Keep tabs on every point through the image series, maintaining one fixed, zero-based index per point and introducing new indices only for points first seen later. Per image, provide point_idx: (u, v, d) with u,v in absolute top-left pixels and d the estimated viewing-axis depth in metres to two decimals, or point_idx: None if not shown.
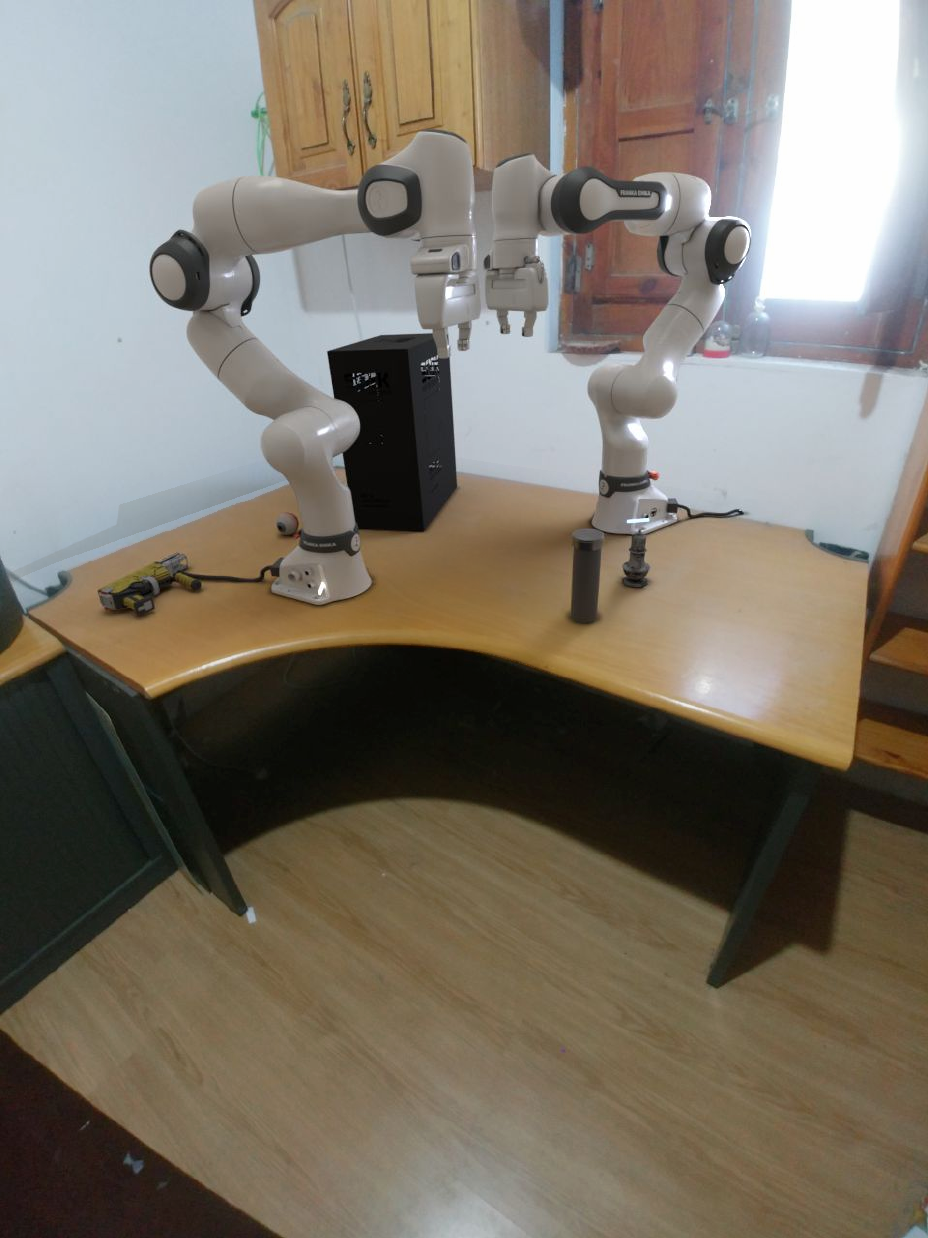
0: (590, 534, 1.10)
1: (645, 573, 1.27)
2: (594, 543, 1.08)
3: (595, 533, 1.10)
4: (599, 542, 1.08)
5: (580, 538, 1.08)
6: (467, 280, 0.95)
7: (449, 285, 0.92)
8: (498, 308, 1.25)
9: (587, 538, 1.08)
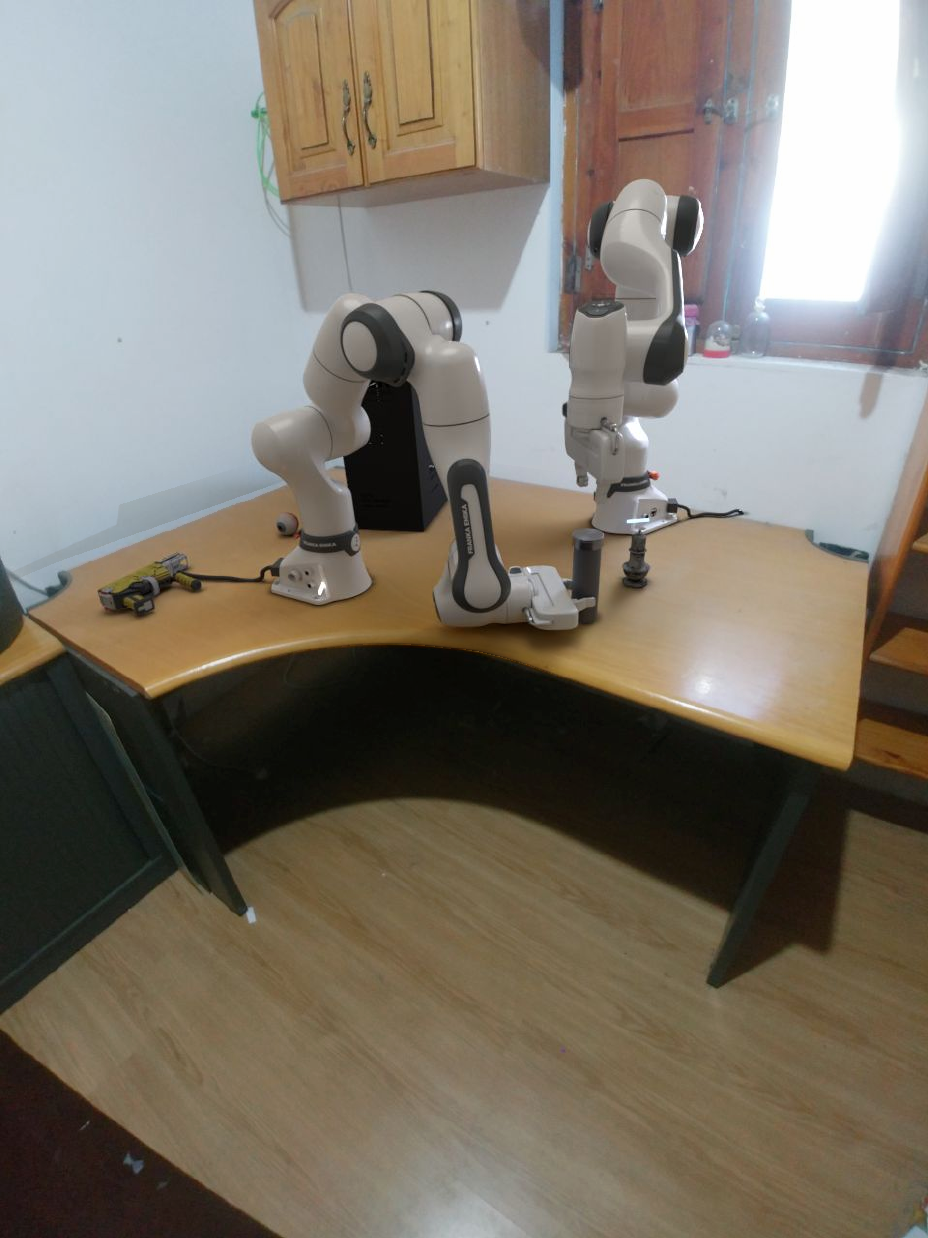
0: (590, 534, 1.10)
1: (645, 573, 1.27)
2: (594, 543, 1.08)
3: (595, 533, 1.10)
4: (599, 542, 1.08)
5: (580, 538, 1.08)
6: None
7: None
8: (574, 460, 1.07)
9: (587, 538, 1.08)
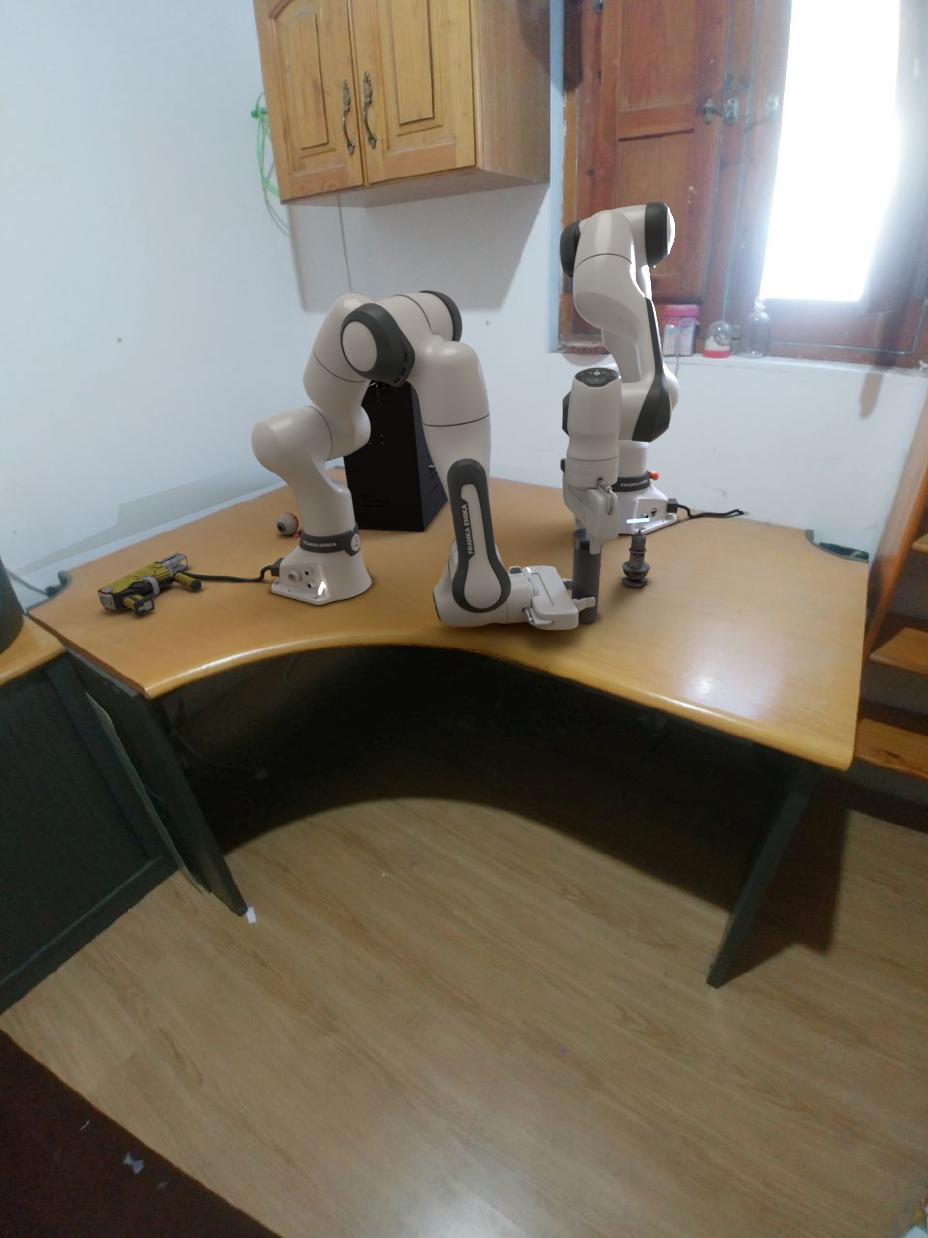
0: None
1: (645, 573, 1.27)
2: None
3: None
4: None
5: (580, 538, 1.08)
6: None
7: None
8: (572, 512, 1.12)
9: (587, 538, 1.08)
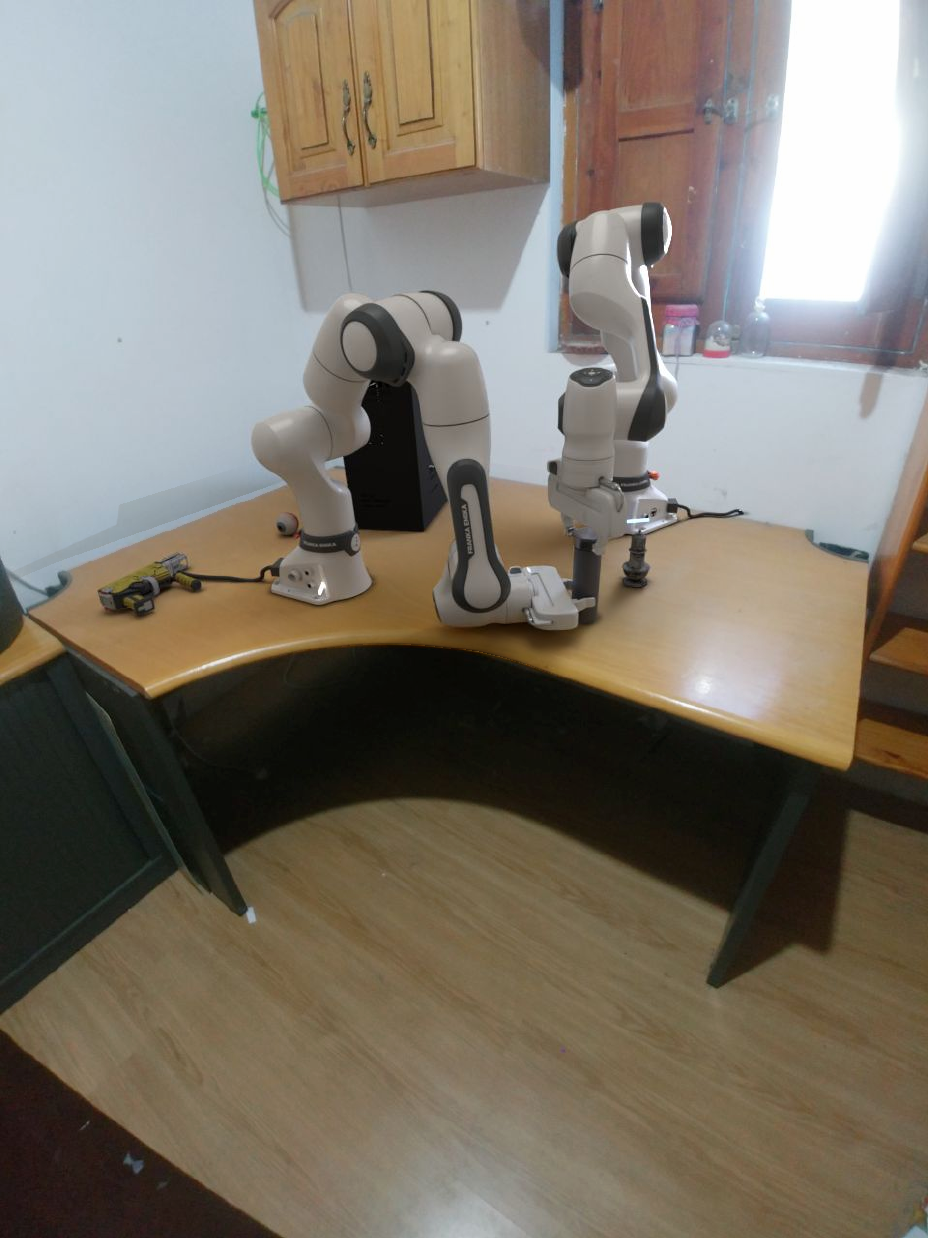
0: (590, 532, 1.10)
1: (645, 573, 1.27)
2: None
3: (589, 530, 1.11)
4: None
5: None
6: None
7: None
8: (563, 513, 1.12)
9: None
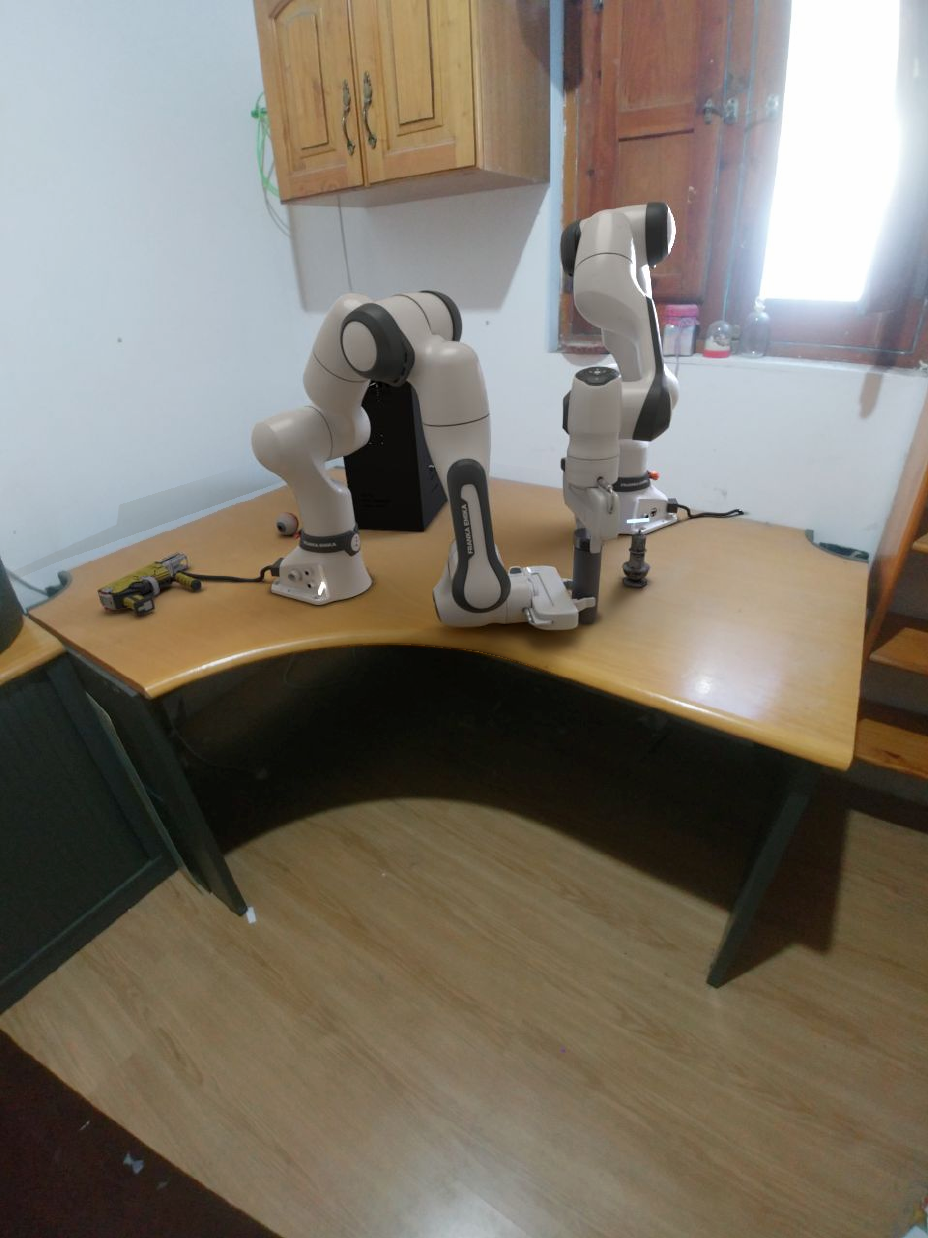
0: (590, 532, 1.10)
1: (645, 573, 1.27)
2: None
3: None
4: None
5: None
6: None
7: None
8: (572, 511, 1.12)
9: None
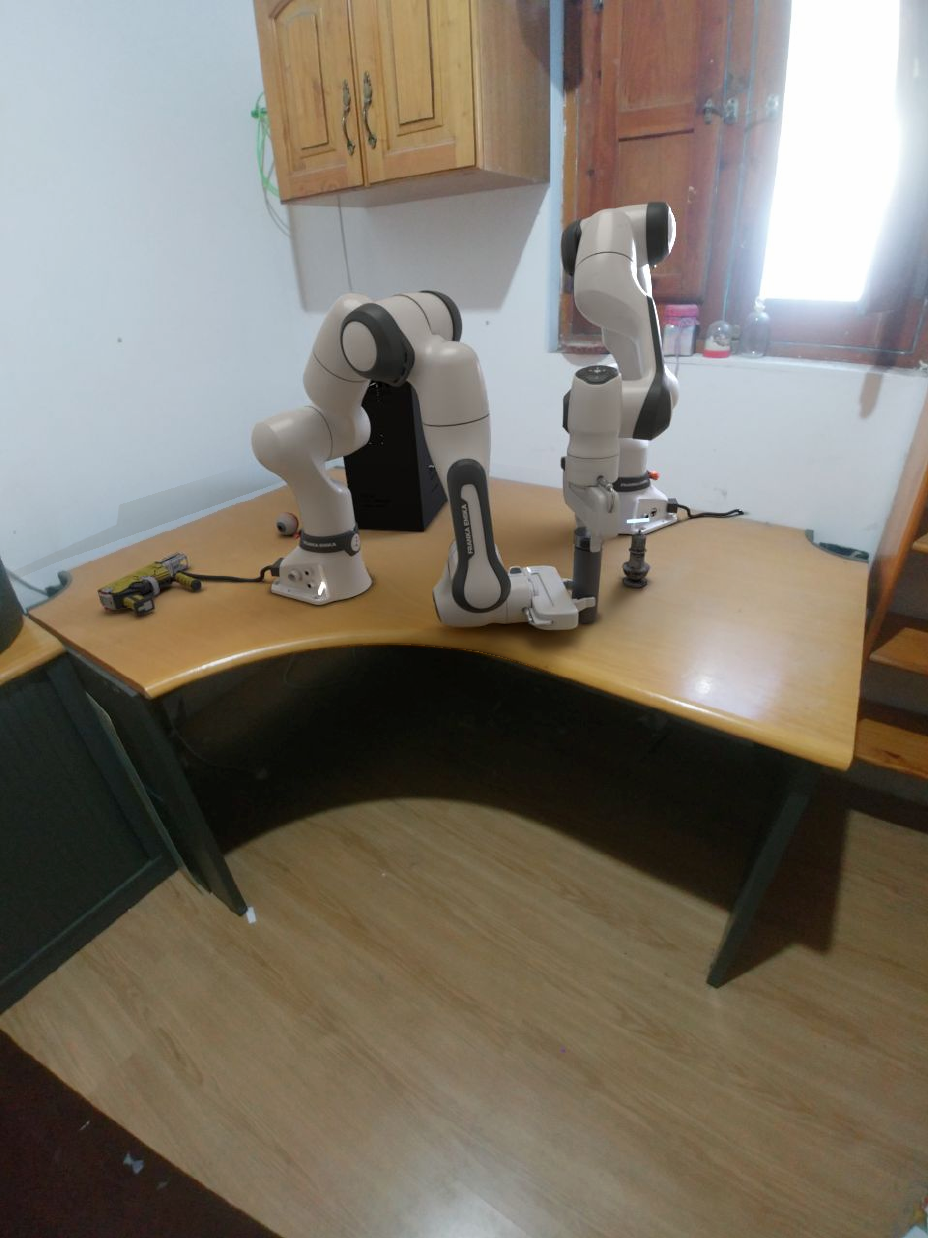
0: (588, 531, 1.10)
1: (645, 573, 1.27)
2: None
3: (582, 530, 1.10)
4: None
5: None
6: None
7: None
8: (572, 510, 1.12)
9: None
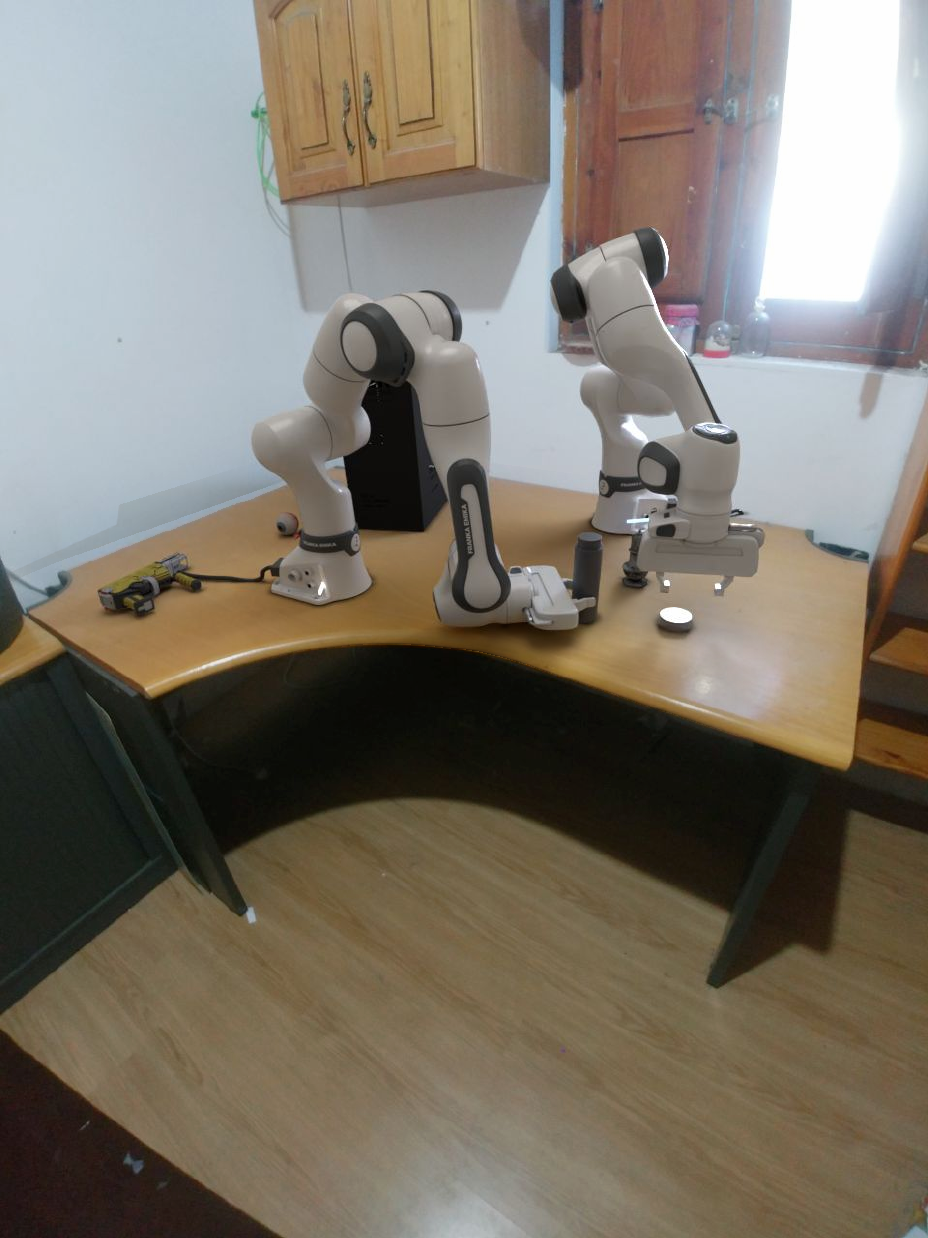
0: (673, 614, 1.13)
1: (645, 573, 1.27)
2: None
3: (670, 616, 1.13)
4: None
5: (679, 609, 1.15)
6: None
7: None
8: (669, 571, 1.08)
9: (673, 609, 1.15)
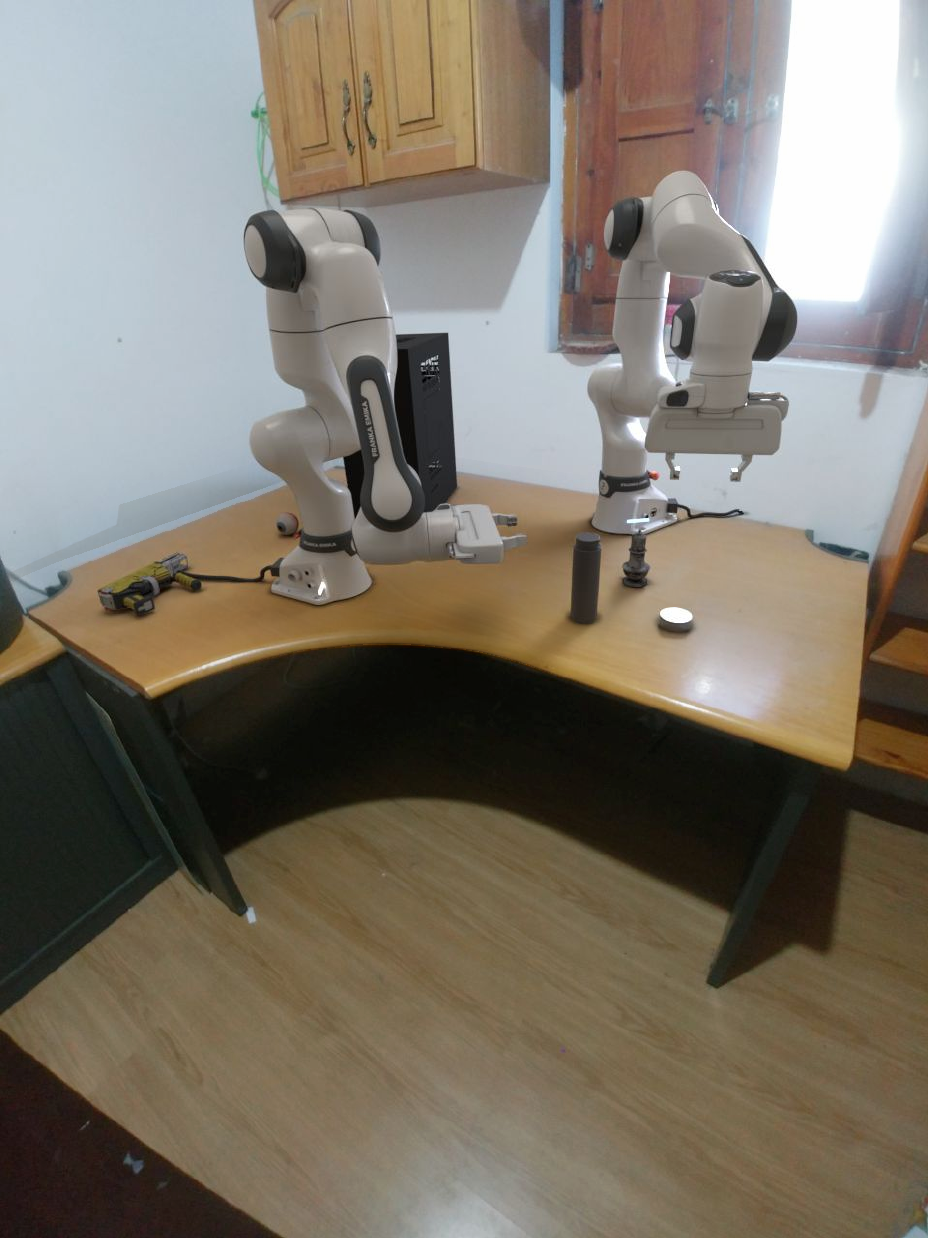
0: (673, 614, 1.13)
1: (645, 573, 1.27)
2: None
3: (670, 616, 1.13)
4: None
5: (679, 609, 1.15)
6: None
7: None
8: (681, 451, 0.97)
9: (673, 609, 1.15)
